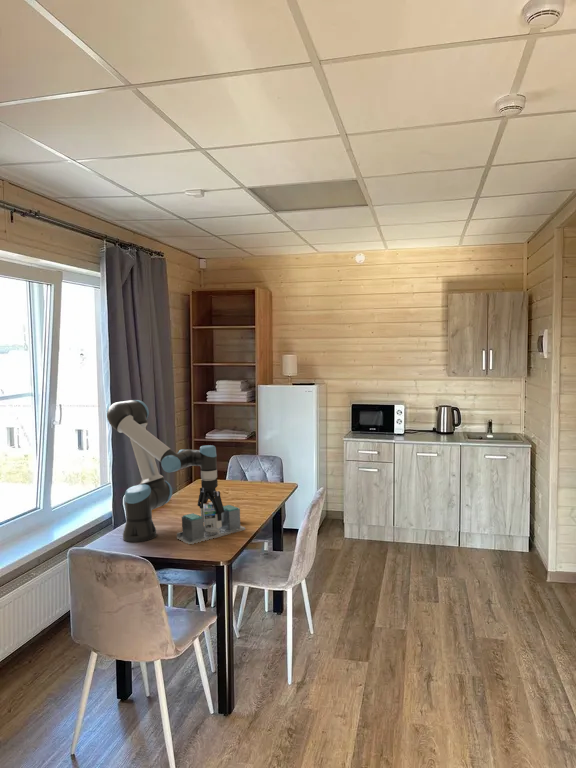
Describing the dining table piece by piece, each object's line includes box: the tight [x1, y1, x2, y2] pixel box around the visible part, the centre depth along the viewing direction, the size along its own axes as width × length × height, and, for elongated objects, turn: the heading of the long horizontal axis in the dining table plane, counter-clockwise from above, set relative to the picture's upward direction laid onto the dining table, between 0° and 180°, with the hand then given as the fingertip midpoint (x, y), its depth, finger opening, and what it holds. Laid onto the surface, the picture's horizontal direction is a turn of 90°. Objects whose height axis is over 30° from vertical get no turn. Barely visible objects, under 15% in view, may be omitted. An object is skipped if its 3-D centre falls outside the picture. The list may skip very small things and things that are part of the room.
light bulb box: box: [203, 501, 219, 531], centre depth 260 cm, size 11×7×11 cm, turn 11°
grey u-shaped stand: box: [176, 504, 246, 545], centre depth 260 cm, size 30×12×11 cm, turn 130°
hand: (211, 524), depth 260 cm, fingers closed on light bulb box, 12 cm apart
